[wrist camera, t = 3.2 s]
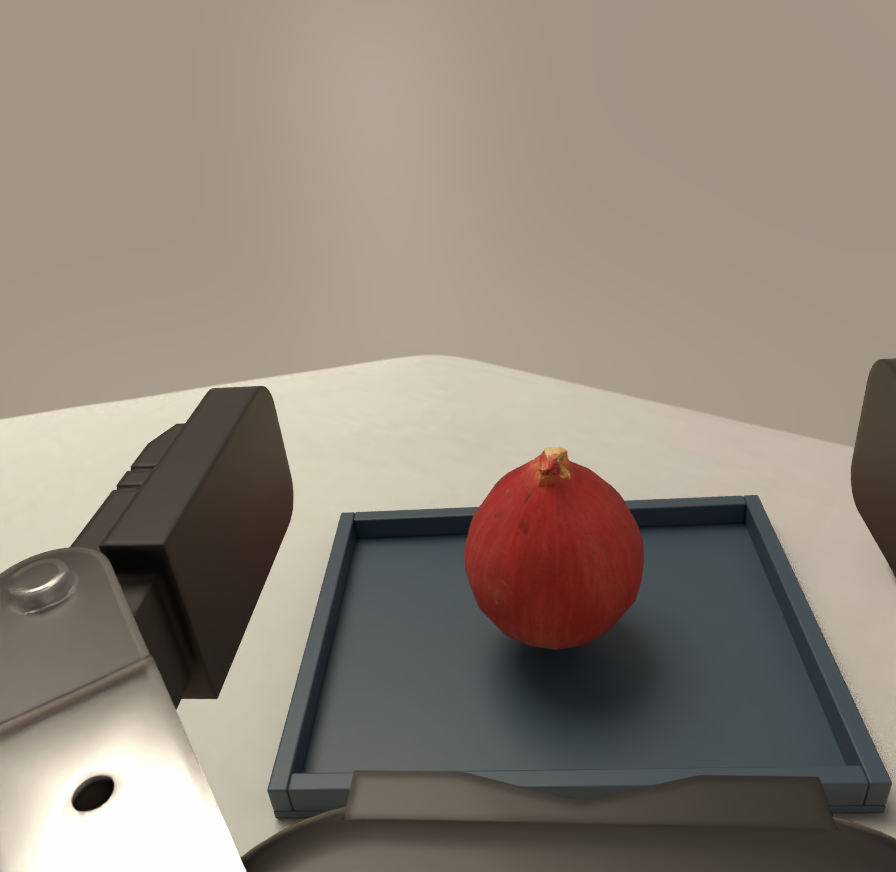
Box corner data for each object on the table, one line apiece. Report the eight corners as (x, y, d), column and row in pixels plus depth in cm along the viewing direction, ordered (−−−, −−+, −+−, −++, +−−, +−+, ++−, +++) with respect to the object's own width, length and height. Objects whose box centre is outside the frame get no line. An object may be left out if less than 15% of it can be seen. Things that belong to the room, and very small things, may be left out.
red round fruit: (443, 624, 30) (419, 438, 26) (568, 562, 32) (565, 382, 28) (538, 733, 25) (527, 530, 21) (675, 652, 28) (690, 454, 23)
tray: (275, 818, 24) (266, 790, 23) (345, 536, 35) (340, 512, 34) (884, 812, 22) (893, 783, 22) (754, 519, 34) (758, 494, 33)
